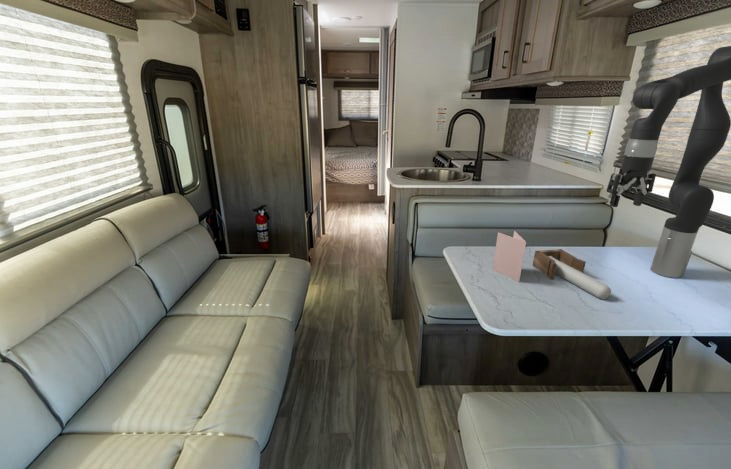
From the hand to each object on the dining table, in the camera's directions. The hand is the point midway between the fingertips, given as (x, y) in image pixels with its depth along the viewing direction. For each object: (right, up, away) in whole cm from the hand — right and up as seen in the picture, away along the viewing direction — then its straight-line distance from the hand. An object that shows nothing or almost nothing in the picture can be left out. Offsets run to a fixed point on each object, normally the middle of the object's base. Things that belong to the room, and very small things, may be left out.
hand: (625, 205), depth 114 cm
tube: (-10, -26, +11) cm, 30 cm away
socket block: (-12, -23, +19) cm, 32 cm away
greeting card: (-32, -24, +16) cm, 43 cm away
